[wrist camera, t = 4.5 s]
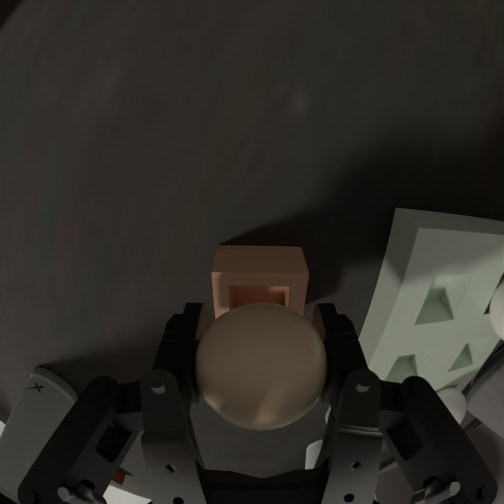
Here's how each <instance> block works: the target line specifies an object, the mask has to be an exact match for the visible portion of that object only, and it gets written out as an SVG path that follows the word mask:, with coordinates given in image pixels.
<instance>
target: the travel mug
mask: <svg viewBox="0 0 504 504" xmlns="http://www.w3.org/2000/svg"><path fill="white" fill-rule="evenodd" d="M77 399H78V396H77V394H76V392H75V390H74V389H73V388H72V387H71V386H70V385H69V384H68V383H67V382H66V381H65V380H64V379H63V378H61V377H60V376H58V375H57V374H55V373H54V372H52V371H50V370H48V369H46V368H42V367H36V368H35V369H34V371H33V372H32V374H31V376H30V378H29V379H28V381H27V383H26V385H25V387H24V389H23V391H22V392H21V394H20V396H19V398H18V400H17V402H16V404H15V406H14V408H13V410H12V412H11V415H10V417H9V419H8V421H7V423H6V425H5V428H4V430H3V432H2V435H1V437H0V504H20V503H19V500H18V496H17V491H18V487H19V485H20V483H21V482H22V480H23V479H24V477H25V475H26V474H27V472H28V471H29V469H30V468H31V466H32V464H33V463H34V461H35V460H36V458H37V457H38V455H39V454H40V452H41V451H42V449H43V448H44V446H45V445H46V443H47V442H48V440H49V439H50V437H51V436H52V434H53V433H54V432H55V430H56V429H57V427H58V426H59V424H60V423H61V422H62V420H63V419H64V417H65V416H66V415H67V413H68V412H69V410H70V409H71V408H72V406H73V405H74V403H75V402H76V401H77Z"/></svg>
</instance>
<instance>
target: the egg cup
mask: <svg viewBox="0 0 504 504" xmlns="http://www.w3.org/2000/svg"><path fill="white" fill-rule="evenodd" d="M308 278H309V271H308V268H307V265H306V261H305V258H304V254H303V251H302V248H301V247H293V246H237V245H218V249H217V253H216V257H215V261H214V265H213V269H212V284H213V296H214V307H215V318H216V319H217V318H218V317H219V316H220V315H222V314H223V313H225V312H227V311H229V310H231V309H233V308H235V307H237V306H240V305H244V304H248V303H256V302H267V303H275V304H279V305H283V306H285V307H288V308H290V309H292V310H294V311H296V312H298V313H299V314H301V315H302V316H303V310H304V304H305V298H306V292H307V285H308Z"/></svg>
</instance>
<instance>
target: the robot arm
mask: <svg viewBox="0 0 504 504" xmlns="http://www.w3.org/2000/svg"><path fill="white" fill-rule="evenodd" d="M312 325H313V326H314V328H315V329H316V330H317V332H318V333H319V335H320V337H321V339H322V341H323V343H324V346H325V349H326V354H327V360H328V370H327V378H326V382H325V386H324V388H323V391H322V393H321V400H322V403H327V402H330V406H331V410H330V412H329V416H328V421H327V425H326V429H325V434H324V438H323V442H322V446H321V450H320V453H319V455H318V458H317V460H316V463H315V466H314V468H313V469H304V470H294V471H291V472H287V473H284V474H280V475H276V476H272V477H268V478H257V477H253V476H248V475H244V474H240V473H236V472H232V471H218V470H206V468H205V465H204V463H203V460H202V457H201V454H200V451H199V448H198V444H197V441H196V437H195V433H194V429H193V425H192V421H191V417H190V414H189V413H190V407H191V403H198V402H199V395H200V392H199V389H198V387H197V384H196V380H195V374H194V361H195V354H196V350H197V347H198V344H199V342H200V339H201V337H202V336H203V334H204V332H205V331H206V330H207V328H208V325H207V318H206V311H205V305H204V303H186V305H185V309H184V312H183V314H174V315H173V316H172V317H171V318H170V320H169V321H168V322H167V325H166V328H165V331H164V334H163V337H162V341H161V343H160V346H159V349H158V352H157V356H156V359H155V362H154V365H153V368H152V371H149V372H148V373H146V374H145V375H144V376H143V377H142V379H141V380H140V381H137V382H131V383H124V384H118V383H117V382H116V380H114V379H113V378H111V377H108V376H101V377H97V378H95V379H94V380H92V381H91V382H90V383H89V384H88V386H87V387H86V389H85V390H84V391H83V393H82V394H81V395H80V397H79V398H78V399H77V401H76V402H75V403H74V405H73V406H72V408H71V409H70V410H69V412H68V413H67V415H66V416H65V417H64V419H63V420H62V422H61V423H60V424H59V426H58V427H57V429H56V430H55V432H54V433H53V434H52V436H51V437H50V439H49V440H48V442H47V443H46V445H45V446H44V448H43V449H42V451H41V452H40V454H39V455H38V457H37V458H36V460H35V461H34V463H33V464H32V466H31V468H30V469H29V471H28V472H27V474H26V475H25V477H24V479H23V480H22V482H21V483H20V485H19V487H18V491H17V496H18V500H19V503H20V504H107V502H106V500H105V499H104V497H103V494H104V492H105V491H106V489H107V487H108V486H109V484H110V482H111V480H112V479H113V477H114V475H115V473H116V472H117V470H118V468H119V466H120V465H121V463H122V461H123V459H124V458H125V456H126V454H127V452H128V451H129V449H130V447H131V445H132V444H133V442H134V440H135V438H136V437H137V435H138V433H139V431H144V434H142V436H141V445H142V452H143V458H144V464H145V470H146V475H147V480H148V485H149V489H150V494H151V498H152V501H151V502H149V503H148V504H380V503H378V502H377V501H376V500H375V499H374V494H375V489H376V483H377V478H378V472H379V465H380V458H381V450H382V442H383V439H384V441H385V443H386V445H387V446H388V448H389V450H390V451H391V453H392V455H393V457H394V458H395V460H396V462H397V464H398V465H399V467H400V469H401V470H402V472H403V474H404V476H405V477H406V479H407V481H408V483H409V484H410V486H411V488H412V490H413V492H414V495H413V497H412V499H411V502H410V504H492V502H493V501H494V500H495V498H496V495H497V489H498V487H497V482H496V481H495V479H494V477H493V476H492V474H491V472H490V471H489V469H488V467H487V466H486V464H485V463H484V461H483V459H482V458H481V456H480V455H479V453H478V452H477V450H476V449H475V447H474V445H473V444H472V442H471V441H470V439H469V438H468V437H467V435H466V434H465V432H464V431H463V429H462V428H461V426H460V425H459V423H458V422H457V421H456V419H455V418H454V416H453V415H452V414H451V412H450V411H449V409H448V408H447V407H446V405H445V404H444V402H443V401H442V400H441V398H440V397H439V396H438V394H437V393H436V392H435V390H434V389H433V388H432V386H431V385H430V384H429V382H428V381H427V380H426V379H424V378H422V377H420V376H409V377H407V378H405V379H404V380H403V382H402V383H397V382H389V381H384V380H381V379H379V377H378V376H377V375H376V373H374V372H373V371H371V370H369V368H368V365H367V362H366V359H365V356H364V353H363V351H362V348H361V345H360V342H359V341H358V337H357V334H356V331H355V328H354V326H353V323H352V321H351V320H350V319H349V318H348V317H347V316H346V315H345V314H342V315H338V314H337V311H336V308H335V306H334V304H333V303H320V304H316V305H315V309H314V314H313V320H312Z"/></svg>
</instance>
